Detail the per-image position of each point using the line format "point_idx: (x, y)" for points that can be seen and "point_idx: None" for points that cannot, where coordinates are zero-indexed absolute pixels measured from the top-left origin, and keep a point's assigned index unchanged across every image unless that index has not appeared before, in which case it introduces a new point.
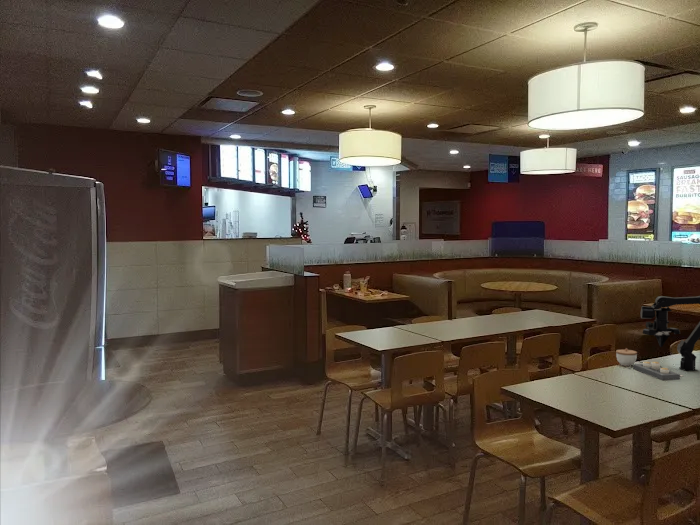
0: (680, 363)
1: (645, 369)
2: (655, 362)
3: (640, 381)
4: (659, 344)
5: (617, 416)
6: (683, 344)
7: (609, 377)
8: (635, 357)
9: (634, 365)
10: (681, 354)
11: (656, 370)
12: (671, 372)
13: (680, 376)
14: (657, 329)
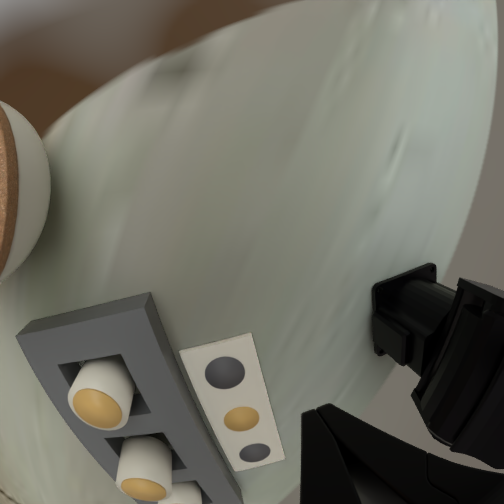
0: (390, 329)
1: (87, 446)
2: (140, 493)
3: (72, 500)
4: (303, 453)
5: None
6: (486, 462)
7: None
8: (14, 267)
9: (26, 351)
10: (424, 403)
11: None
12: (217, 494)
13: (267, 462)
14: None
